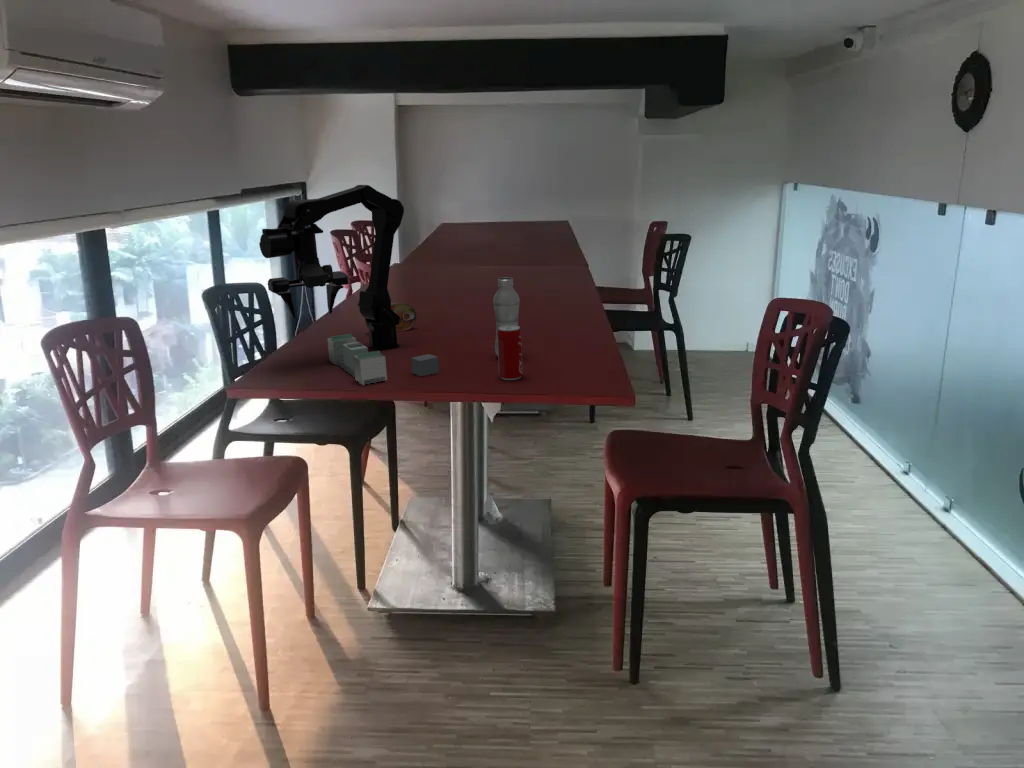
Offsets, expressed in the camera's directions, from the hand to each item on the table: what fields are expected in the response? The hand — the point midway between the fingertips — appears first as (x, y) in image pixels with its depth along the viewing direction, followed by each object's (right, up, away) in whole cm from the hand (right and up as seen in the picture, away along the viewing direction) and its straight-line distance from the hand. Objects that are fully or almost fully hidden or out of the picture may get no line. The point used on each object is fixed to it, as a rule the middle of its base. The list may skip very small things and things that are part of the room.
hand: (312, 315), depth 195 cm
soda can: (+50, -16, -15) cm, 55 cm away
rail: (+12, -14, -5) cm, 19 cm away
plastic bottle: (+49, -10, +2) cm, 50 cm away
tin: (+15, -2, +34) cm, 37 cm away
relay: (+30, -15, -10) cm, 34 cm away
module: (+12, -13, -6) cm, 19 cm away
